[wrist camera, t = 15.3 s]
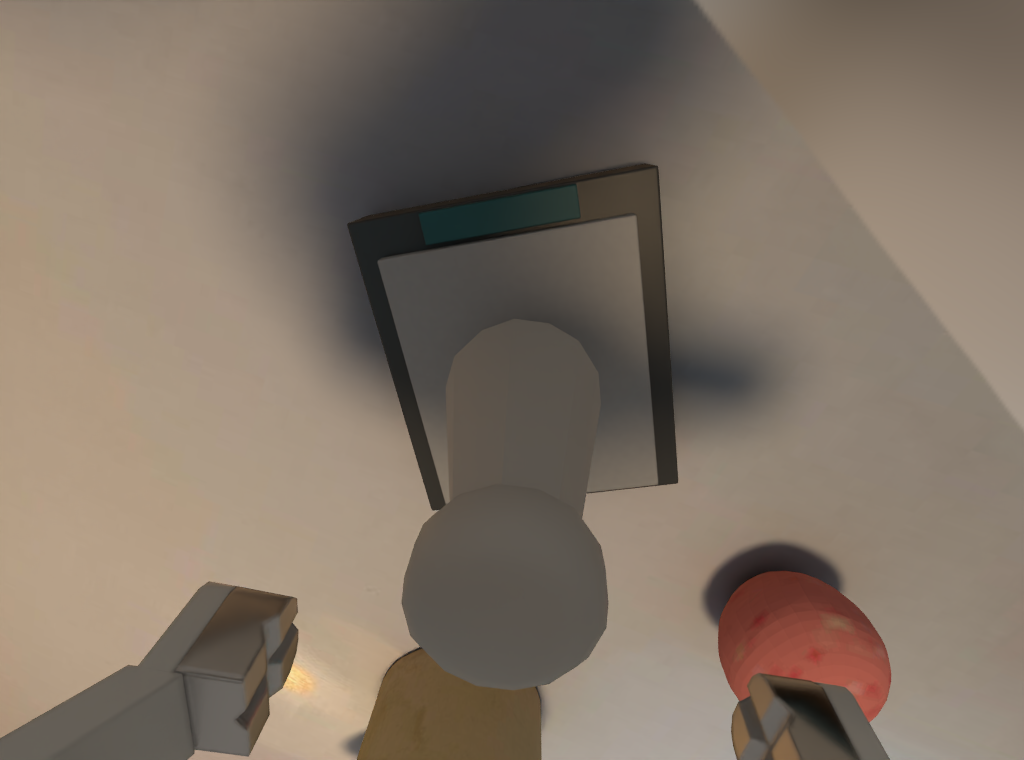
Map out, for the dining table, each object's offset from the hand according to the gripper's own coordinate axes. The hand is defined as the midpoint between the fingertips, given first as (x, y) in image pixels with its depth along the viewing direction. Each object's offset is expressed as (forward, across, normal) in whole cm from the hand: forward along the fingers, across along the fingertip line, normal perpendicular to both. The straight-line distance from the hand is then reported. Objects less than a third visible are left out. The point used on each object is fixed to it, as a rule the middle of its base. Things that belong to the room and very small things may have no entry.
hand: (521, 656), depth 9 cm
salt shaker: (+14, 0, 0) cm, 14 cm away
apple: (+17, -16, +13) cm, 26 cm away
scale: (+17, 0, 0) cm, 17 cm away
